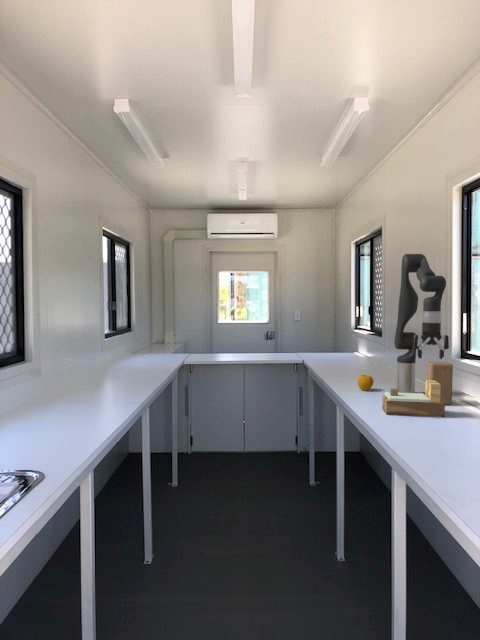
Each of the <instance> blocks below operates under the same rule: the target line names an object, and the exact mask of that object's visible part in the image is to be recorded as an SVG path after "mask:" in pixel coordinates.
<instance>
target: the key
mask: <svg viewBox="0 0 480 640" xmlns="http://www.w3.org/2000/svg"><path fill="white" fill-rule="evenodd" d="M440 389H441V384H439V383H438V382H436V381H433V380H427V379H426V380H425V390H424V391H425V392H424V393H425V394H424V395H425V396H427V397H428V398H429V399H430V402H438V403H440Z"/></svg>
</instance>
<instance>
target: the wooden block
mask: <svg viewBox="0 0 480 640" xmlns="http://www.w3.org/2000/svg"><path fill="white" fill-rule="evenodd" d="M453 369H454V366H453V364H452V363H450V362H448V361H442V360H441V361H439V360H438V361H435V360H428V361H427V362H426V380H433V381H436V382H438V383H439V384H441V389H440V400H441V401H442V402H443V403H445V406H451V405H452V404H453V373H454V372H453V371H454V370H453Z"/></svg>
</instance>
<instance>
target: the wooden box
mask: <svg viewBox="0 0 480 640" xmlns="http://www.w3.org/2000/svg"><path fill="white" fill-rule="evenodd" d="M381 400H382V402H381V403H382V405H381V407H382V410H383V412H384V413H385V415H387V416H403V417H404V416H407V417H428V418H429V417H430V418H445V415H446V414H445V409H446V405H445V403H443V402H442V401H441V400H440V403H438V402H405V401H389V400H388V398H387V397H386V396H385V394H384V395H382V399H381Z"/></svg>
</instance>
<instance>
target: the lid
mask: <svg viewBox="0 0 480 640" xmlns="http://www.w3.org/2000/svg"><path fill="white" fill-rule="evenodd" d="M384 395H385V396H386V397H387V398H388V400H389V401H405V402H430V399H429V398H428V397H427V396H425V394H424V393H421V392H419V393H418V392H417V393H416V392H415V393H398V389H397V387H390V388H389V392H388V391H385V392H384Z"/></svg>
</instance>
